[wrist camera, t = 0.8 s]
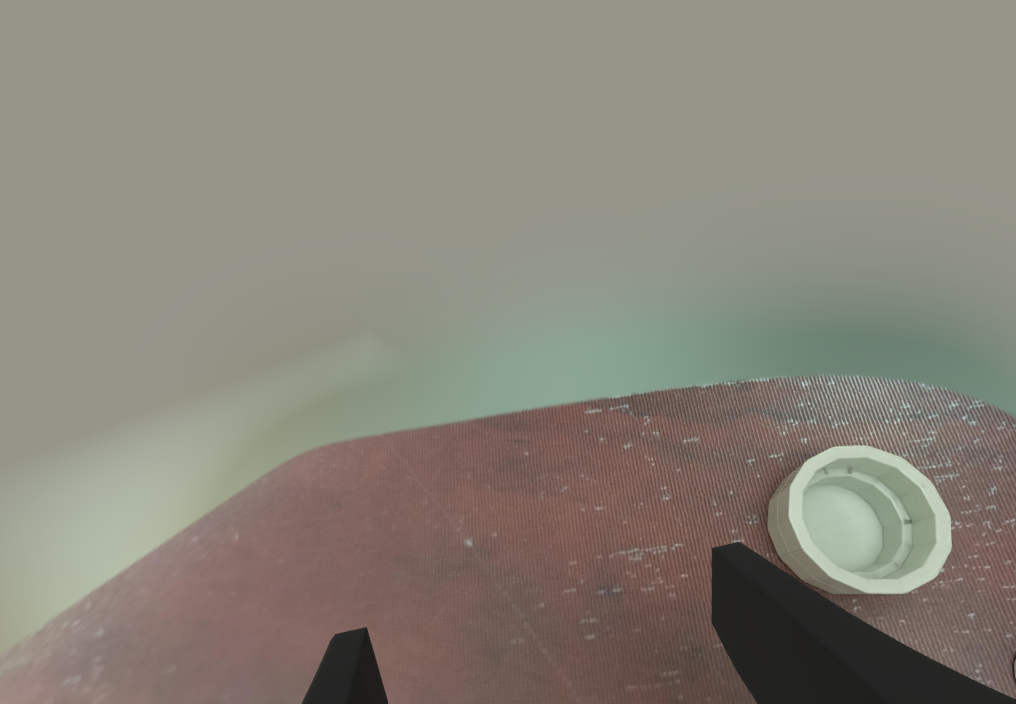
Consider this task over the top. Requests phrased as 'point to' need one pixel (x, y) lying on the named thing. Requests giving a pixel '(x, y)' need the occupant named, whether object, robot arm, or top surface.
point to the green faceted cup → (860, 523)
